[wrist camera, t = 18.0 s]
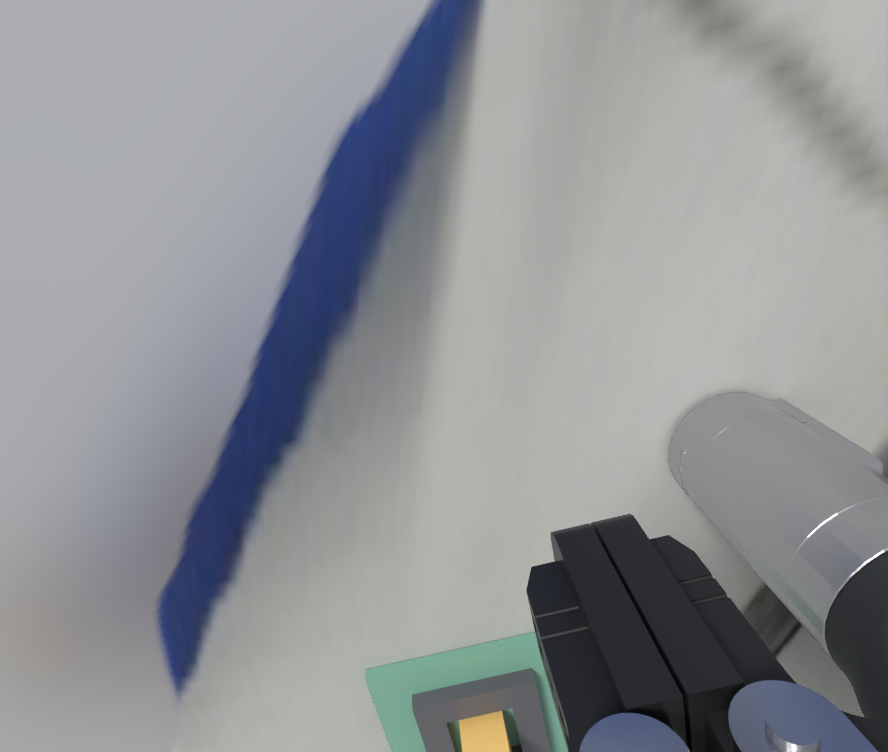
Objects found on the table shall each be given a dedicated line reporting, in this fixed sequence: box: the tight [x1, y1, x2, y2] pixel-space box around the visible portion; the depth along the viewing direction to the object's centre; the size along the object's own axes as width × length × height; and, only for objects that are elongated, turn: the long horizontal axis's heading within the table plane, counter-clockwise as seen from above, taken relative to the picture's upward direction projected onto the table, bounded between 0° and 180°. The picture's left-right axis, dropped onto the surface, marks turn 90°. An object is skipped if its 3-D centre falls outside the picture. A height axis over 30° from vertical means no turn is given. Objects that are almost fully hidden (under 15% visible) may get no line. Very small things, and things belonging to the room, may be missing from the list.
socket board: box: [365, 632, 568, 752], centre depth 52 cm, size 18×18×2 cm
